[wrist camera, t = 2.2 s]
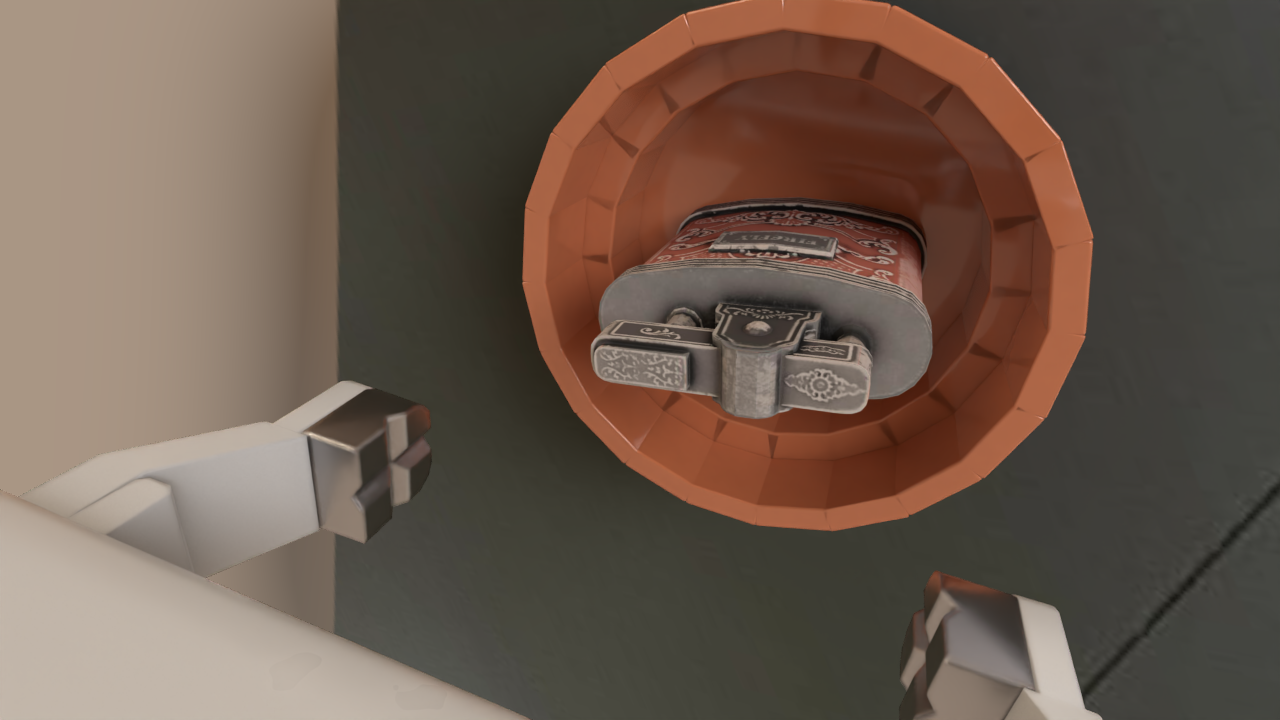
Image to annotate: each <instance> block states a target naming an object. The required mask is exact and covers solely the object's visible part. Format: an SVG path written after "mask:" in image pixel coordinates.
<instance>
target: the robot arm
mask: <svg viewBox="0 0 1280 720" xmlns="http://www.w3.org/2000/svg"><path fill="white" fill-rule="evenodd" d="M430 428H431V425H430V412H429V410H428V409H427V408H426V407H425V406H423V405H421V404H418V403H416V402H413V401H410V400H407V399H404V398H401V397H398V396H396V395H393V394H390V393H387V392H384V391H381V390H378V389H373V388H371V387H369V386H366V385H363V384H360V383H357V382H354V381H341V382H339V383H338V384H336V385H334V386H333V387H331V388H329V389H328V390H326V391H325V392H323V393H321V394H320V395H318V396H316V397H315V398H313V399H312V400H310V401H308V402H307V403H305V404H303V405H302V406H300V407H299V408H297V409H295V410H294V411H292V412H290V413H289V414H287V415H286V416H284V417H282V418H281V419H279V420H278V421H276V422H274V423H273V424H272V423H269V422H266V421H262V422H258V423H253V424H248V425H243V426H238V427H233V428H228V429H223V430H218V431H213V432H208V433H203V434H198V435H193V436H188V437H183V438H178V439H173V440H168V441H163V442H158V443H153V444H148V445H143V446H138V447H133V448H128V449H123V450H118V451H113V452H108V453H103V454H98V455H97V456H95V457H93V458H91V459H89V460H87V461H85V462H83V463H81V464H80V465H78V466H76V467H74V468H72V469H70V470H68V471H66V472H65V473H62V474H60V475H59V476H57V477H55V478H53V479H51V480H49V481H47V482H45V483H43V484H41V485H40V486H38V487H36V488H34V489H32V490H30V491H28V492H26V493H24V494H23V495H20V496H19V497H17V496H15V495H12V494H10V493H7V492H5V491H3V490H1V489H0V720H532V719H530V718H527V717H525V716H523V715H520V714H518V713H516V712H513V711H511V710H509V709H506V708H504V707H502V706H500V705H497V704H495V703H493V702H490V701H488V700H486V699H483V698H481V697H479V696H476V695H474V694H472V693H470V692H467V691H465V690H463V689H460V688H458V687H456V686H453V685H451V684H449V683H446V682H444V681H442V680H440V679H437V678H435V677H433V676H430V675H428V674H426V673H423V672H421V671H419V670H416V669H414V668H412V667H410V666H407V665H405V664H403V663H400V662H398V661H396V660H393V659H391V658H389V657H386V656H384V655H382V654H380V653H377V652H375V651H373V650H370V649H368V648H366V647H363V646H361V645H359V644H356V643H354V642H352V641H350V640H347V639H345V638H343V637H340V636H338V635H336V634H333V633H331V632H329V631H326V630H324V629H322V628H320V627H317V626H315V625H313V624H310V623H308V622H306V621H303V620H301V619H299V618H296V617H294V616H292V615H289V614H287V613H285V612H283V611H280V610H278V609H276V608H273V607H271V606H269V605H266V604H264V603H262V602H259V601H257V600H255V599H253V598H250V597H248V596H246V595H243V594H241V593H238V592H236V591H234V590H232V589H229V588H227V587H225V586H222V585H220V584H218V583H216V582H213V581H211V580H209V579H206V578H207V577H209V576H212V575H214V574H217V573H219V572H221V571H224V570H226V569H229V568H231V567H233V566H236V565H238V564H240V563H243V562H245V561H248V560H250V559H252V558H255V557H257V556H260V555H262V554H264V553H267V552H269V551H271V550H274V549H276V548H279V547H281V546H283V545H286V544H288V543H291V542H293V541H295V540H298V539H300V538H303V537H305V536H307V535H310V534H312V533H314V532H317V531H319V528H322V529H325V530H328V531H331V532H333V533H336V534H339V535H342V536H345V537H348V538H350V539H353V540H356V541H359V542H362V543H364V544H365V543H366V542H367V541H368V540H369V539H370V538H371V537H372V536H373V535H374V534H375V533H377V532H378V531H379V530H380V529H381V528H382V527H383V526H384V525H385V524H386V523H387V522H388V521H389V520H390V519H391V518H392V510H393V506H396V505H400V504H403V503H406V502H409V501H410V500H411V499H412V498H413V497H414V496H415V495H416V494H417V493H418V492H419V491H420V490H421V488H422V486H423V485H424V483H425V481H426V479H427V477H428V475H429V471H430V467H431V462H432V454H431V448H430V446H429V445H428V443H427V441H426V440H425V438H424V435H425V433H426V432H427V431H428V430H429V429H430ZM900 681H901V683H902V684H903V686H904V687H905V689H906V690H907V692H906V694H905V696H904V698H903V701H902V703H901V705H900V707H899V720H1103V719H1102V718H1101V717H1100V716H1099V715H1098V714H1096V713H1093V712H1091V711H1088V710H1085V706H1084V703H1083V699H1082V695H1081V691H1080V688H1079V684H1078V680H1077V677H1076V673H1075V669H1074V666H1073V662H1072V658H1071V654H1070V651H1069V647H1068V643H1067V640H1066V636H1065V632H1064V629H1063V625H1062V621H1061V617H1060V614H1059V612H1058V611H1057V609H1056V608H1055V607H1054V606H1052V605H1048V604H1045V603H1042V602H1038V601H1035V600H1031V599H1028V598H1025V597H1021V596H1018V595H1015V594H1013V595H1011V594H1008V593H1005V592H1002V591H998V590H995V589H992V588H989V587H986V586H983V585H980V584H976V583H973V582H970V581H967V580H964V579H961V578H957V577H954V576H951V575H948V574H945V573H942V572H939V571H935V572H934V573H933V574H932V576H931V577H930V579H929V581H928V583H927V585H926V587H925V589H924V609H922V610H920V611H918V612H916V613H914V614H913V616H912V619H911V621H910V624H909V626H908V629H907V631H906V635H905V639H904V643H903V647H902V652H901V660H900Z"/></svg>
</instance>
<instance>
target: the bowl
mask: <svg viewBox="0 0 1280 720" xmlns="http://www.w3.org/2000/svg"><path fill="white" fill-rule="evenodd" d="M788 197H804V198H813V199H822V200H831V201H841V202H850V203H855V204H859V205H864V206H868V207H873V208H877V209H881V210H886V211H890V212H895V213H899V214H902V215H904V216H906V217H909V218H911V219H913V221H914V222H915V223H916V224H917V225H918V226H919V227H920V228H921V229H922V232H923V234H924V237H925V240H926V243H927V266H926V269H925V272H924V275H923V278H922V303H923V304H924V305H925V308H926V310H927V313H928V315H929V318H930V320H931V325H932V356H931V359H930V362H929V365H928V367H927V370H926V372H925V373H924V374H923V376H922V377H921V378H920V379H919V381H918V382H917V383H916V384H915V386H913V387H911V388H910V389H908V390H906V391H905V392H903V393H902V394H900V395H897V396H893V397H888V398H883V399H868V401H867V405H866V406H865V407H864V408H863V409H862V410H861V411H860V412H857V413H854V414H840V413H832V412H825V411H818V410H810V409H803V408H796V407H793V408H792V409H791V410H789V411H786V412H780V413H777V414H776V415H774V416H772V417H769V418H762V419H751V418H744V417H737V416H733V415H731V414H729V413H726V412H725V411H724V410H723V409H722V408H721V406H720V404H718V403H716V402H715V401H713V399H712V396H707V395H700V394H692V393H685V392H677V391H670V390H663V389H655V388H648V387H641V386H633V385H626V384H618V383H612V382H608V381H604V380H602V379H601V378H599V377H598V376H597V375H596V373H595V372H594V370H593V367H592V362H591V344H592V343H593V341H594V339H595V338H596V337H597V336H598V335H599V334H600V333H601V328H600V324H599V319H598V318H599V306H600V301H601V299H602V297H603V294H604V292H605V290H606V288H607V287H608V286H609V285H610V284H612V283H613V282H614V281H615V280H616V279H617V278H618V277H619V276H620V275H621V274H622V273H624V272H625V271H626V270H628V269H630V268H633V267H636V266H639V265H644V264H645V263H646V262H647V261H648V260H649V259H650V258H651V257H652V256H654V255H655V254H656V253H657V252H658V251H659V250H660V249H661V248H662V247H664V246H665V245H666V244H667V243H668V242H669V241H670V240H671V239H672V238H674V237H675V235H676V233H677V231H678V229H679V227H680V225H681V223H682V222H683V221H684V220H685V219H686V218H687V217H689V216H690V215H691V214H692V213H693V212H694V211H695V210H697V209H699V208H702V207H704V206H707V205H714V204H720V203H726V202H733V201H739V200H746V199H758V198H788ZM525 207H526V209H525V221H524V249H523V277H522V279H523V281H524V282H523V283H522V284H523V288H524V292H525V296H526V300H527V304H528V308H529V312H530V316H531V320H532V323H533V327H534V331H535V335H536V339H537V343H538V347H539V350H540V351H541V355H542V357H543V359H544V360H545V362H546V364H547V366H548V367H549V369H550V371H551V373H552V374H553V376H554V378H555V380H556V381H557V383H558V385H559V387H560V388H561V390H562V392H563V394H564V395H565V397H566V399H567V401H568V402H569V404H570V406H571V408H572V409H573V411H574V412H575V413H576V414H577V416H578V417H579V418H580V419H581V420H582V421H583V422H584V423H585V424H586V425H587V426H588V427H589V428H590V429H591V430H592V431H593V432H594V433H595V434H596V435H597V436H598V438H599V439H600V440H601V441H602V442H603V443H604V444H605V445H606V446H607V447H608V448H609V449H610V450H611V451H612V452H613V453H614V454H615V455H616V456H617V457H618V458H619V459H620V460H621V461H622V462H623V463H626V465H627V466H628V467H630V468H631V469H633V470H634V471H636V472H638V473H639V474H641V475H642V476H644V477H646V478H647V479H649V480H650V481H652V482H654V483H655V484H657V485H658V486H660V487H662V488H663V489H665V490H666V491H668V492H670V493H671V494H673V495H674V496H676V497H678V498H679V499H681V500H683V501H686V502H687V503H689V504H692V505H695V506H698V507H701V508H704V509H707V510H710V511H713V512H716V513H719V514H722V515H725V516H728V517H731V518H734V519H737V520H740V521H743V522H746V523H749V524H752V525H755V524H756V525H758V526H770V527H784V528H798V529H811V530H825V531H830V530H831V531H836V530H842V529H847V528H852V527H858V526H863V525H868V524H874V523H879V522H885V521H890V520H895V519H901V518H906V517H909V515H912V514H914V513H916V512H918V511H920V510H922V509H924V508H926V507H928V506H930V505H932V504H934V503H936V502H938V501H940V500H942V499H944V498H946V497H948V496H950V495H952V494H954V493H956V492H958V491H960V490H962V489H964V488H966V487H968V486H970V485H972V484H974V483H976V482H978V481H980V480H981V479H982V478H985V477H986V476H987V475H988V474H989V473H990V472H991V471H992V470H993V469H994V468H995V467H996V466H997V465H998V464H999V463H1000V462H1001V461H1002V460H1004V459H1005V458H1006V457H1007V456H1008V455H1009V454H1010V453H1011V452H1012V451H1013V450H1014V449H1015V448H1016V447H1017V446H1018V445H1019V444H1020V443H1021V442H1022V441H1023V440H1024V439H1025V438H1026V437H1027V436H1028V435H1029V434H1030V433H1031V432H1032V431H1033V430H1034V429H1035V428H1036V427H1037V426H1038V425H1039V424H1040V423H1041V422H1042V421H1043V420H1044V418H1046V417H1047V416H1048V414H1049V412H1050V410H1051V407H1052V405H1053V403H1054V401H1055V399H1056V397H1057V395H1058V393H1059V391H1060V389H1061V387H1062V385H1063V383H1064V381H1065V379H1066V377H1067V375H1068V373H1069V371H1070V368H1071V366H1072V364H1073V362H1074V360H1075V358H1076V356H1077V354H1078V352H1079V350H1080V348H1081V346H1082V344H1083V342H1084V340H1085V335H1084V334H1085V333H1086V329H1087V316H1088V303H1089V291H1090V278H1091V265H1092V253H1093V240H1092V239H1093V233H1092V230H1091V227H1090V224H1089V221H1088V218H1087V215H1086V212H1085V209H1084V206H1083V202H1082V199H1081V196H1080V193H1079V190H1078V187H1077V184H1076V181H1075V178H1074V175H1073V172H1072V168H1071V165H1070V162H1069V159H1068V156H1067V153H1066V150H1065V147H1064V144H1063V141H1062V140H1061V138H1060V136H1059V135H1058V134H1057V133H1056V132H1055V131H1054V129H1053V128H1052V127H1051V126H1050V125H1049V123H1048V122H1047V121H1046V120H1045V119H1044V118H1043V116H1042V115H1041V114H1040V113H1039V112H1038V110H1037V109H1036V108H1035V107H1034V106H1033V105H1032V103H1031V102H1030V101H1029V100H1028V99H1027V97H1026V96H1025V95H1024V94H1023V93H1022V92H1021V90H1020V89H1019V88H1018V87H1017V86H1016V85H1015V83H1014V82H1013V81H1012V80H1011V79H1010V77H1009V76H1008V75H1007V74H1006V73H1005V72H1004V70H1003V69H1002V68H1001V67H1000V66H999V64H998V63H997V62H996V61H995V60H994V59H993V58H992V57H990V56H988V54H987V53H985V52H983V51H981V50H979V49H977V48H975V47H973V46H972V45H970V44H968V43H966V42H964V41H962V40H960V39H958V38H957V37H955V36H953V35H951V34H949V33H947V32H945V31H943V30H942V29H940V28H938V27H936V26H934V25H932V24H930V23H928V22H927V21H925V20H923V19H921V18H919V17H917V16H915V15H913V14H912V13H910V12H908V11H906V10H904V9H902V8H900V7H898V6H894V5H893V6H892V5H891V4H889V3H885V2H877V1H869V0H738V1H733V2H729V3H724V4H720V5H716V6H711V7H707V8H702V9H698V10H694V11H689V12H688V13H686V14H681V15H680V16H678V17H677V18H675V19H673V20H672V21H670V22H669V23H667V24H666V25H664V26H662V27H661V28H659V29H658V30H656V31H655V32H653V33H652V34H650V35H648V36H647V37H645V38H644V39H642V40H641V41H639V42H637V43H636V44H634V45H633V46H631V47H630V48H628V49H627V50H625V51H623V52H622V53H620V54H619V55H617V56H616V57H614V58H612V59H611V60H609V61H608V62H607V63H606V65H604V66H603V67H602V68H601V69H600V71H599V72H598V73H597V74H596V76H595V77H594V78H593V79H592V81H591V82H590V83H589V85H588V86H587V87H586V88H585V90H584V91H583V92H582V93H581V95H580V96H579V97H578V99H577V100H576V101H575V102H574V104H573V105H572V106H571V107H570V109H569V110H568V111H567V113H566V114H565V115H564V116H563V118H562V119H561V120H560V121H559V123H558V124H557V125H556V127H555V128H554V129H553V132H552V133H551V134H550V137H549V140H548V143H547V145H546V148H545V151H544V154H543V157H542V159H541V162H540V165H539V168H538V171H537V173H536V176H535V179H534V182H533V185H532V187H531V190H530V193H529V196H528V199H527V202H526V204H525Z"/></svg>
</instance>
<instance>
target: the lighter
mask: <svg viewBox="0 0 1280 720" xmlns="http://www.w3.org/2000/svg"><path fill="white" fill-rule="evenodd" d="M926 266H927V243H926V240H925V237H924V234H923V232H922V229H921V228H920V227H919V226H918V225H917V224H916V223H915V222H914V221H913V219H911V218H909V217H906V216H904V215H902V214H899V213H895V212H890V211H886V210H881V209H877V208H873V207H868V206H864V205H859V204H855V203H850V202H841V201H831V200H822V199H813V198H804V197H788V198H758V199H746V200H739V201H733V202H726V203H720V204H714V205H707V206H704V207H702V208H699V209H697V210H695V211H694V212H693V213H692V214H691V215H690V216H689V217H687V218H686V219H685V220H684V221H683V222H682V223H681V225H680V227H679V229H678V231H677V233H676V235H675V237H674V238H672V239H671V240H670V241H669V242H668V243H667V244H666V245H665V246H664V247H662V248H661V249H660V250H659V251H658V252H657V253H656V254H655V255H654V256H652V257H651V258H650V259H649V260H648V261H647V262H646V263H645V264H644V265H639V266H636V267H633V268H630V269H628V270H626V271H625V272H624V273H622V274H621V275H620V276H619V277H618V278H617V279H616V280H615V281H614V282H613V283H612V284H610V285H609V286H608V287H607V288H606V290H605V292H604V294H603V297H602V299H601V301H600V306H599V318H598V319H599V324H600V328H601V333H600V334H599V335H598V336H597V337H596V338H595V339H594V341H593V343H592V344H591V362H592V367H593V370H594V372H595V373H596V375H597V376H598V377H599V378H601V379H602V380H604V381H608V382H612V383H618V384H626V385H633V386H641V387H648V388H655V389H663V390H670V391H677V392H685V393H692V394H700V395H707V396H712V399H713V401H715V402H716V403H718V404H720V406H721V408H722V409H723V410H724V411H725V412H726V413H729V414H731V415H733V416H737V417H744V418H751V419H762V418H769V417H772V416H774V415H776V414H777V413H780V412H786V411H789V410H791V409H792V408H793V407H796V408H803V409H810V410H818V411H825V412H832V413H840V414H854V413H857V412H860V411H861V410H862V409H863V408H864V407H865V406H866V405H867V401H868V399H883V398H888V397H893V396H897V395H900V394H902V393H903V392H905V391H906V390H908V389H910V388H911V387H913V386H915V384H916V383H917V382H918V381H919V379H920V378H921V377H922V376H923V374H924V373H925V372H926V370H927V367H928V365H929V362H930V359H931V356H932V325H931V320H930V318H929V315H928V313H927V310H926V308H925V305H924V304H923V303H922V278H923V275H924V272H925V269H926Z"/></svg>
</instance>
